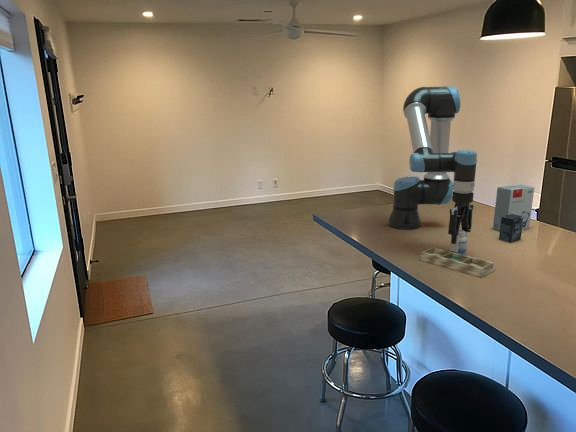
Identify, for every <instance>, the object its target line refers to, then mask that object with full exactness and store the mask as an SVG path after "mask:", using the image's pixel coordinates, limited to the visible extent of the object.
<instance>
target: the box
mask: <svg viewBox="0 0 576 432" xmlns="http://www.w3.org/2000/svg"><path fill="white" fill-rule="evenodd" d="M522 224H523V216H519V215H515V214H510V215H506V216H502V217H501V225H500V231H499V236H498V240H500V241H502V242H507V243H513V242H516V241H520V240H521V239H522V232H523V230H522Z"/></svg>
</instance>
